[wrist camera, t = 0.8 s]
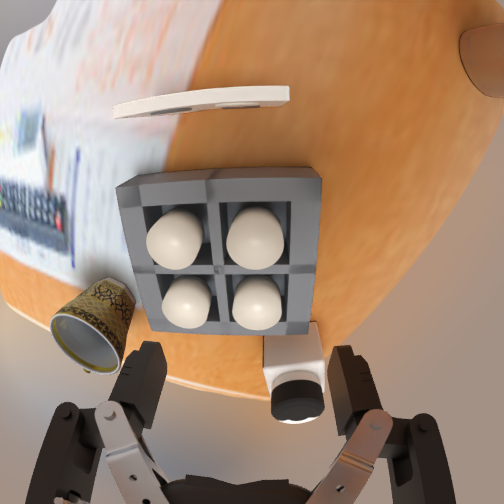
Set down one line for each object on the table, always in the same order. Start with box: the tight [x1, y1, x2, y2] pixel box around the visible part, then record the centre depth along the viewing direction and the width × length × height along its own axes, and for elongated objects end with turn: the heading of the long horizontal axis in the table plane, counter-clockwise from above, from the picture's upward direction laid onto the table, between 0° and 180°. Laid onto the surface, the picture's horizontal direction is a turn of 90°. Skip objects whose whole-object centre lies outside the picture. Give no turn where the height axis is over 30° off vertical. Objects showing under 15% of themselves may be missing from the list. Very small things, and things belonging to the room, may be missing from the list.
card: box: [113, 86, 290, 119], centre depth 19 cm, size 12×1×9 cm, turn 92°
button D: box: [162, 275, 212, 329], centre depth 27 cm, size 5×5×3 cm
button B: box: [232, 275, 282, 330], centre depth 27 cm, size 5×5×3 cm
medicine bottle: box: [263, 322, 325, 424], centre depth 31 cm, size 7×7×12 cm
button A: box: [226, 206, 284, 270], centre depth 23 cm, size 5×5×3 cm
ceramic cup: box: [50, 277, 135, 375], centre depth 31 cm, size 13×10×10 cm
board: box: [115, 167, 322, 335], centre depth 28 cm, size 18×17×5 cm
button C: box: [146, 208, 205, 270], centre depth 24 cm, size 5×5×3 cm
